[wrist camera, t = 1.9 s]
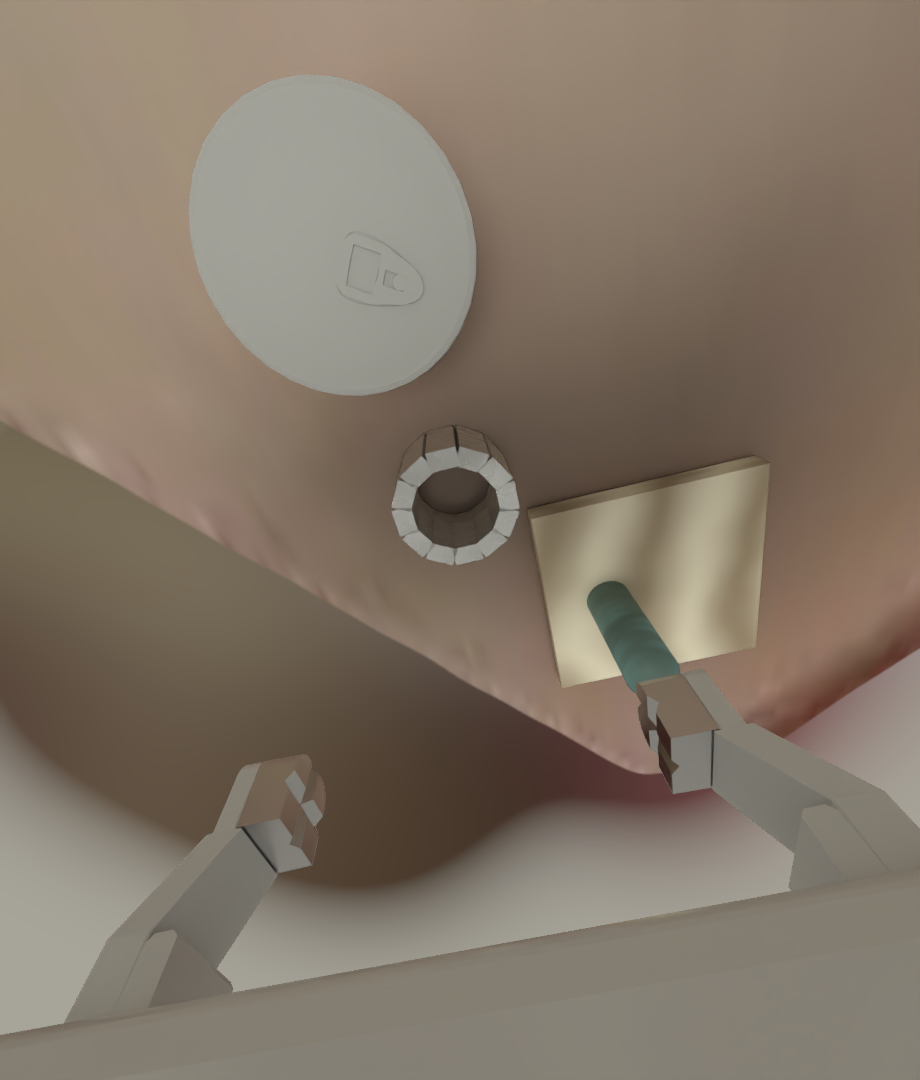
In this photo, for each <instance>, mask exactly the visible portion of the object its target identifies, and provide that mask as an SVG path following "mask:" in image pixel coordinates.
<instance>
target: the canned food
mask: <svg viewBox="0 0 920 1080" xmlns="http://www.w3.org/2000/svg"><path fill="white" fill-rule="evenodd" d="M189 223H190V237H191V242H192V246H193V251H194V255H195V260H196V264H197V268H198V270H199V273H200V275H201V278H202V280H203V283H204V285H205V288H206V290H207V293H208V295H209V297H210V299H211V301H212V302H213V304H214V306H215V307H216V309H217V311H218V312H219V314H220V316H221V317H222V319H223V321H224V322H225V324H226V325H227V326H228V327H229V329H230V330H231V331H232V332H233V333H234V335H235V336H236V337H237V338H238V339H239V340H240V342H241V343H242V344H243V345H244V346H245V347H246V348H247V349H248V350H249V351H250V352H251V353H253V354H254V355H255V356H256V357H257V358H258V359H260V360H261V361H262V362H263V363H264V364H265V365H266V366H268V367H270V368H271V369H273V370H274V371H276V372H278V373H279V374H281V375H283V376H284V377H286V378H287V379H289V380H291V381H293V382H296V383H298V384H301V385H303V386H306V387H308V388H311V389H313V390H317V391H322V392H326V393H331V394H336V395H354V396H365V395H370V394H376V393H381V392H387V391H390V390H392V389H395V388H397V387H400V386H402V385H405V384H407V383H410V382H412V381H413V380H415V379H416V378H418V377H419V376H421V375H422V374H424V373H425V372H427V371H428V370H430V369H431V368H432V367H433V366H434V365H435V364H436V363H437V362H438V361H439V360H440V359H441V358H442V357H443V356H444V355H445V354H446V353H447V352H448V350H449V349H450V347H451V346H452V344H453V342H454V341H455V339H456V338H457V336H458V335H459V333H460V332H461V330H462V327H463V325H464V322H465V320H466V317H467V315H468V312H469V310H470V307H471V303H472V298H473V293H474V288H475V283H476V273H477V246H476V240H475V234H474V227H473V221H472V216H471V213H470V210H469V207H468V204H467V201H466V198H465V195H464V192H463V189H462V186H461V183H460V181H459V180H458V178H457V176H456V174H455V172H454V170H453V169H452V167H451V165H450V163H449V161H448V159H447V158H446V156H445V154H444V152H443V151H442V150H441V148H440V147H439V146H438V145H437V143H436V142H435V141H434V140H433V138H432V137H431V136H430V135H429V133H428V132H427V131H426V130H425V128H424V127H423V126H422V125H421V124H420V123H419V122H418V121H416V120H415V119H414V118H413V117H412V116H411V115H409V114H408V113H407V112H406V111H405V110H404V109H403V108H401V107H400V106H399V105H398V104H397V103H395V102H394V101H392V100H390V99H388V98H387V97H385V96H383V95H381V94H379V93H378V92H376V91H374V90H372V89H371V88H369V87H367V86H365V85H361V84H358V83H355V82H352V81H348V80H345V79H342V78H338V77H335V76H321V75H303V74H302V75H297V76H292V77H287V78H282V79H277V80H273V81H270V82H268V83H266V84H264V85H262V86H260V87H258V88H256V89H254V90H252V91H250V92H248V93H246V94H244V95H243V96H242V97H241V98H240V99H239V100H238V101H237V102H235V103H234V104H233V105H232V106H231V107H230V108H229V109H228V110H227V111H226V112H224V113H223V114H222V115H221V116H220V118H219V120H218V121H217V123H216V124H215V126H214V127H213V129H212V130H211V132H210V133H209V135H208V136H207V138H206V139H205V141H204V143H203V146H202V149H201V151H200V154H199V157H198V159H197V162H196V165H195V168H194V170H193V176H192V183H191V190H190V197H189Z"/></svg>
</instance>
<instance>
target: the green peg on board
mask: <svg viewBox="0 0 920 1080" xmlns="http://www.w3.org/2000/svg"><path fill="white" fill-rule="evenodd" d="M769 475H770V463H769V462H767V461H765V460H762V459H760V458H758V457H756V456H751V457H746V458H742V459H738V460H734V461H730V462H725V463H721V464H717V465H713V466H708V467H704V468H700V469H696V470H691V471H687V472H683V473H679V474H674V475H670V476H666V477H662V478H657V479H653V480H649V481H645V482H641V483H636V484H632V485H628V486H624V487H619V488H615V489H611V490H607V491H602V492H598V493H594V494H590V495H585V496H581V497H577V498H573V499H568V500H564V501H560V502H556V503H552V504H547V505H543V506H539V507H535V508H530V509H527V513H528V519H529V524H530V529H531V535H532V540H533V546H534V551H535V556H536V562H537V567H538V573H539V578H540V583H541V589H542V594H543V600H544V605H545V610H546V616H547V621H548V626H549V632H550V637H551V643H552V648H553V653H554V659H555V664H556V670H557V674H558V677H559V680H560V683H561V686H562V688H563V687H568V686H573V685H578V684H582V683H587V682H592V681H597V680H602V679H606V678H611V677H616V676H621V675H623V677H624V679H625V681H626V683H627V685H628V687H629V688H630V690H632V691H633V692H635V693H636V685H637V683H639V682H643V681H647V680H652V679H656V678H661V677H665V676H670V675H674V674H680V666H679V664H678V663H683V662H688V661H693V660H697V659H702V658H707V657H712V656H717V655H721V654H726V653H731V652H736V651H740V650H745V649H750V648H755V647H756V636H757V624H758V611H759V599H760V586H761V574H762V562H763V549H764V537H765V524H766V512H767V500H768V487H769Z"/></svg>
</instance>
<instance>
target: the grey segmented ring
mask: <svg viewBox="0 0 920 1080" xmlns="http://www.w3.org/2000/svg"><path fill="white" fill-rule="evenodd" d="M454 467H460V468H463V469H467V470H471V471H474V472H478V473H480V474H481V475H482V476H483V477H484V478H485V479H486V480H487V481H488V482H489V483H490V484H489V487H488V490H487V493H486V496H485V498H484V499H483V500H482V501H481V502H480V503H479V504H478V505H476V506H475V507H474V508H473V509H472V510H471V511H467V512H463V513H458V514H454V515H451V514H447V513H443V512H439V511H435V510H433V509H432V508H431V507H430V506H429V505H428V504H427V503H426V502H425V501H423V500H422V499H421V498H420V495H419V491H418V487H419V486H420V485H421V484H422V483H423V482H424V481H425V480H426V479H427V478H428V477H429V476H430V475H432V474H433V473H434V472H438V471H442V470H446V469H450V468H454ZM391 507H392V514H393V517H394V520H395V523H396V526H397V529H398V532H399V535H400V536H403V537H402V540H403V541H404V542H405V543H407V544H408V545H409V546H410V547H411V548H412V549H414V550H415V551H416V552H417V553H418V554H419V555H420V556H422V557H423V556H425V555H426V559H428V560H432V561H437V562H441V563H445V564H449V565H453V563H454V560H455V562H456V565H460V564H464V563H468V562H473V561H477V560H481V559H483V555H482V554H484V555H485V556H486V557H488V556H489V555H490V554H491V553H493V552H494V551H495V550H496V549H497V548H499V547H500V546H501V545H502V544H503V543H505V542H506V541H507V537H506V536H508V537H510V535H511V532H512V530H513V527H514V525H515V522H516V519H517V517H518V514H519V510H518V509H519V508H520V507H519V502H518V497H517V492H516V486H515V481H514V479H513V477H512V475H511V472H510V470H509V468H508V466H507V464H506V461H505V459H504V457H503V455H502V453H501V452H500V451H499V450H498V448H497V447H496V446H495V445H494V444H493V443H492V442H491V441H490V440H489V439H488V438H487V437H486V436H485V435H483V436H482V433H481V432H478V431H475V430H471V429H468V428H464V427H461V426H457V425H456V427H455V431H454V429H453V425H451V426H447V427H443V428H439V429H435V430H431V431H427V436H426V435H425V434H424V433H423V434H422V435H421V436H420V437H419V438H418V439H417V440H416V441H415V442H414V443H413V444H412V445H411V446H410V447H409V448H408V449H407V450H406V451H405V454H404V456H403V460H402V464H401V468H400V472H399V476H398V480H397V484H396V489H395V493H394V497H393V502H392V506H391Z"/></svg>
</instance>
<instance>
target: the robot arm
mask: <svg viewBox="0 0 920 1080" xmlns="http://www.w3.org/2000/svg"><path fill="white" fill-rule="evenodd" d="M636 693H637V696H638V698H639V700H640V702H641V704H640V706H639V707H638V715H639V721H640V724H641V728H642V731H643V734H644V736H645V739H646V741H647V743H648V745H649V747H650V749H651V750H652V751H654V752H656V753H657V754H658V758H659V768H660V769H661V771H662V773H663V775H664V777H665V779H666V781H667V783H668V785H669V787H670V789H671V791H672V793H673V794H675V793H682V792H688V791H693V790H699V789H705V788H711V787H712V789H713V790H714V791H715V792H716V793H717V794H719V795H720V796H721V797H723V798H724V799H725V800H727V801H728V802H729V803H730V804H732V805H733V806H734V807H735V808H737V809H738V810H739V811H741V812H742V813H743V814H744V815H746V816H747V817H748V818H750V819H751V820H752V821H753V822H755V823H756V824H757V825H759V826H760V827H761V828H762V829H764V830H765V831H766V832H767V833H769V834H770V835H771V836H773V837H774V838H775V839H777V840H778V841H779V842H780V843H782V844H783V845H784V846H786V847H787V848H788V849H789V850H791V851H792V852H793V853H794V854H795V855H794V860H793V866H792V871H791V876H790V882H789V888H790V890H791V891H789V892H783V893H778V894H772V895H767V896H762V897H757V898H751V899H745V900H740V901H734V902H729V903H723V904H718V905H712V906H707V907H701V908H696V909H691V910H685V911H679V912H674V913H668V914H662V915H658V916H652V917H646V918H640V919H635V920H630V921H624V922H619V923H613V924H607V925H602V926H596V927H591V928H586V929H580V930H574V931H569V932H563V933H558V934H553V935H547V936H541V937H536V938H530V939H525V940H519V941H514V942H508V943H502V944H497V945H492V946H486V947H481V948H475V949H470V950H464V951H459V952H453V953H448V954H442V955H437V956H431V957H426V958H420V959H415V960H409V961H404V962H398V963H393V964H387V965H382V966H376V967H372V968H365V969H360V970H354V971H349V972H343V973H338V974H333V975H328V976H321V977H317V978H310V979H305V980H300V981H294V982H289V983H283V984H277V985H272V986H267V987H261V988H256V989H250V990H245V991H239V992H234V993H232V991H233V987H232V984H231V982H230V981H229V980H228V979H227V978H226V977H225V976H224V975H222V974H221V973H220V972H219V971H218V970H217V967H218V966H219V964H220V963H221V961H222V959H223V958H224V956H225V955H226V953H227V952H228V950H229V949H230V947H231V946H232V944H233V943H234V941H235V940H236V938H237V936H238V935H239V934H240V932H241V930H242V929H243V927H244V926H245V924H246V923H247V921H248V920H249V918H250V916H251V915H252V914H253V912H254V911H255V909H256V907H257V906H258V904H259V903H260V901H261V900H262V898H263V897H264V895H265V894H266V892H267V891H268V889H269V888H270V886H271V885H272V883H273V881H274V880H275V878H276V877H277V874H276V873H280V872H284V871H289V870H293V869H297V868H302V867H306V866H310V865H312V863H313V859H314V854H315V850H316V845H317V841H318V836H319V835H318V833H317V831H316V829H315V825H316V824H317V823H318V822H319V820H320V819H321V818H322V816H323V813H324V808H325V788H324V784H323V781H322V779H321V778H320V776H319V775H318V774H316V773H314V772H312V771H310V769H311V766H312V762H311V761H310V759H309V758H308V756H307V755H298V756H293V757H287V758H282V759H277V760H271V761H265V762H261V763H256V764H251V765H246V766H244V767H243V768H242V770H240V772H239V774H238V776H237V778H236V781H235V783H234V785H233V788H232V790H231V792H230V795H229V797H228V799H227V802H226V804H225V806H224V809H223V811H222V813H221V816H220V818H219V820H218V823H217V825H216V828H215V830H214V832H213V834H209V835H206V836H205V838H203V840H202V841H201V842H200V843H199V844H198V845H197V846H196V847H195V848H194V849H193V850H192V851H191V852H190V853H189V854H188V855H187V856H186V858H185V859H184V860H183V861H182V862H181V863H180V864H179V865H178V866H177V867H176V868H175V869H174V870H173V871H172V872H171V873H170V874H169V876H167V878H166V879H165V880H164V881H163V882H162V883H161V884H160V885H159V886H158V887H157V888H156V889H155V890H154V891H153V892H152V893H151V894H150V896H149V897H148V898H147V899H146V900H145V901H144V902H143V903H142V904H141V905H140V906H139V907H138V908H137V909H136V910H135V911H134V912H133V913H132V914H131V916H130V917H129V918H128V919H127V920H126V921H125V922H124V923H123V924H122V925H121V926H120V927H119V928H118V929H117V930H116V931H115V932H114V933H113V934H112V936H111V937H110V938H109V939H108V940H107V942H106V943H105V945H104V947H103V949H102V951H101V953H100V955H99V957H98V959H97V961H96V963H95V965H94V967H93V969H92V970H91V972H90V974H89V976H88V978H87V980H86V982H85V984H84V986H83V988H82V990H81V992H80V993H79V995H78V997H77V999H76V1001H75V1003H74V1005H73V1007H72V1009H71V1011H70V1013H69V1014H68V1016H67V1018H66V1020H65V1022H64V1024H58V1025H53V1026H47V1027H42V1028H37V1029H31V1030H26V1031H20V1032H14V1033H9V1034H3V1035H0V1080H920V828H919V827H918V826H917V825H916V824H915V823H914V822H913V821H912V820H911V819H910V818H909V817H908V816H907V815H906V813H905V812H904V811H903V810H902V809H901V808H900V807H899V806H898V805H897V804H896V803H895V802H894V801H893V800H892V799H891V798H890V796H889V795H888V794H887V793H886V792H885V791H883V790H881V789H879V788H877V787H875V786H874V785H872V784H870V783H868V782H866V781H864V780H862V779H860V778H858V777H856V776H854V775H852V774H850V773H848V772H847V771H845V770H843V769H841V768H839V767H837V766H835V765H833V764H831V763H829V762H827V761H825V760H823V759H821V758H819V757H818V756H816V755H814V754H812V753H810V752H808V751H806V750H804V749H802V748H800V747H798V746H796V745H795V744H792V743H791V742H789V741H787V740H785V739H783V738H781V737H779V736H777V735H775V734H773V733H771V732H769V731H768V730H766V729H764V728H762V727H760V726H758V725H756V724H754V723H752V724H746V723H745V722H744V720H743V719H742V718H741V717H740V715H739V714H738V713H737V711H736V710H735V709H734V707H733V706H732V705H731V704H730V702H729V701H728V700H727V698H726V697H725V696H724V694H723V693H722V692H721V690H720V689H719V688H718V687H717V685H716V684H715V683H714V681H713V680H712V679H711V677H710V676H709V675H708V674H707V672H706V671H704V670H703V669H698V670H694V671H689V672H684V673H680V674H674V675H670V676H665V677H661V678H656V679H652V680H647V681H643V682H639V683H637V685H636Z"/></svg>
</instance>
